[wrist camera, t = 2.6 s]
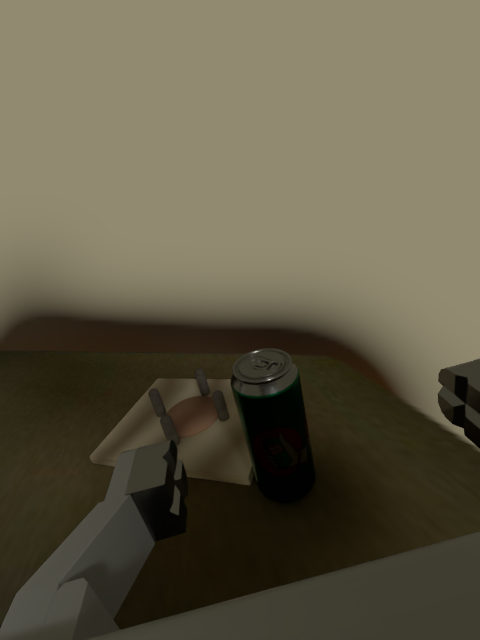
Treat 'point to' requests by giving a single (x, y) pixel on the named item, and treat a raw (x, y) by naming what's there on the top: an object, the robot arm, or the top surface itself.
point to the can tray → (186, 428)
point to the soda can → (274, 423)
